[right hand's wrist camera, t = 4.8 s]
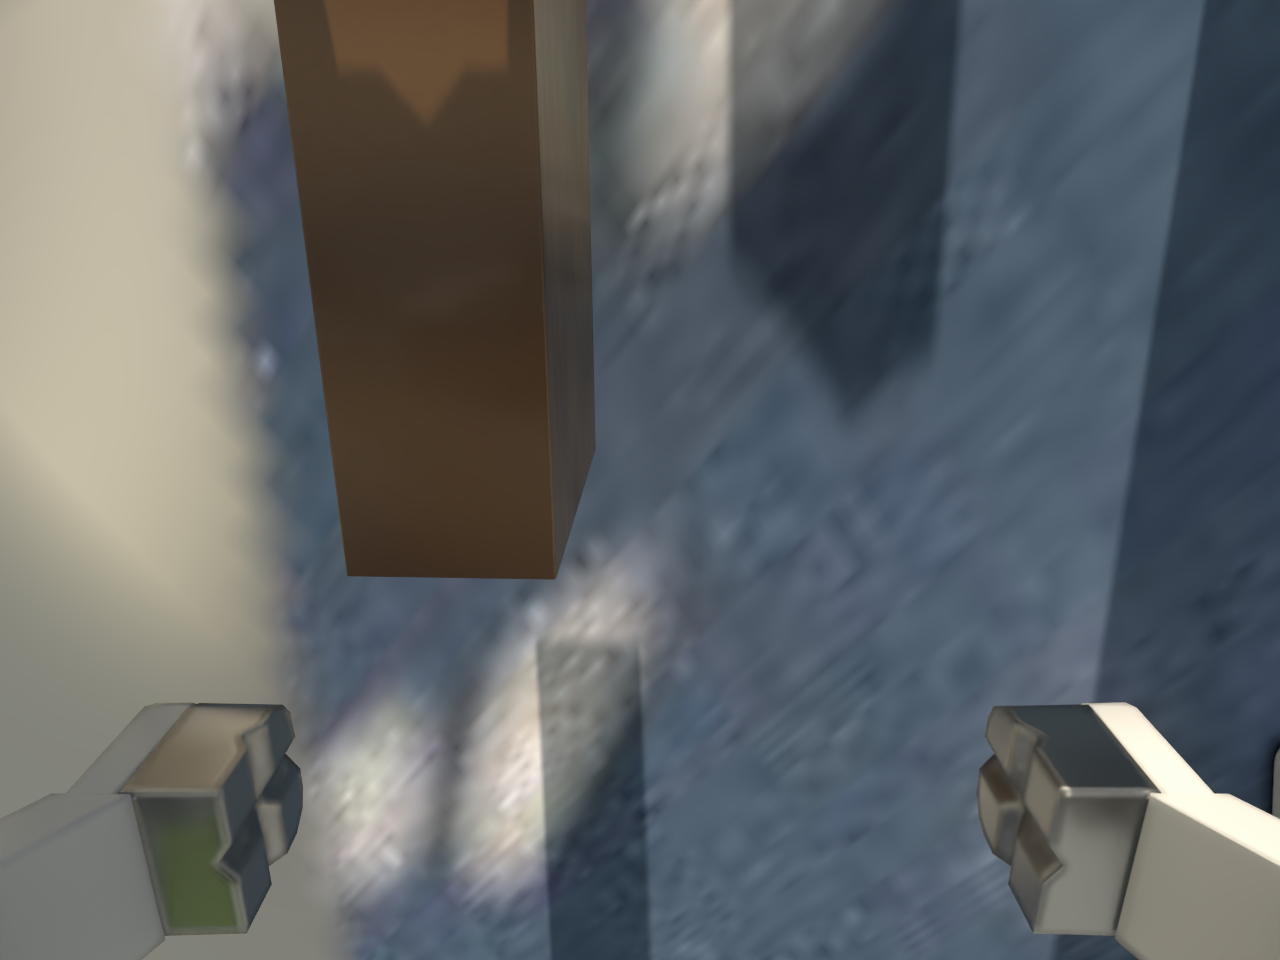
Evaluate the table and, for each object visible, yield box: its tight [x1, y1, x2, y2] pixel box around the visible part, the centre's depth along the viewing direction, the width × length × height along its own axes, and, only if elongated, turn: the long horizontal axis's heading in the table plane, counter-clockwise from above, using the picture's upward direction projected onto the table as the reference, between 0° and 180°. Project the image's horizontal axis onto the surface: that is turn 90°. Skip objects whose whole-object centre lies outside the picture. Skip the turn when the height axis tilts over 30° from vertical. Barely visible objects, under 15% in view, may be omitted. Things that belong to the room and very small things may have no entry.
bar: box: [274, 0, 596, 579], centre depth 20 cm, size 23×5×9 cm, turn 0°
